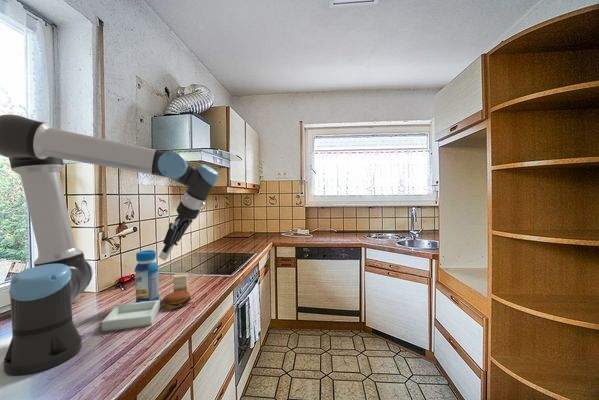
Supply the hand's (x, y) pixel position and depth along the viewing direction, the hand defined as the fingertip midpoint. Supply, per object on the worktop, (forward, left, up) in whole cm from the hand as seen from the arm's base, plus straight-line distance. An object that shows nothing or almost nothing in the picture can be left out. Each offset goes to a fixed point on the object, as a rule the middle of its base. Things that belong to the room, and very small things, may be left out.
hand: (162, 258), depth 104 cm
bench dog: (+10, -5, -18) cm, 21 cm away
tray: (-8, +8, -18) cm, 22 cm away
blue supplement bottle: (+7, +7, -19) cm, 21 cm away
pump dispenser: (+16, +38, -19) cm, 45 cm away
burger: (+1, -4, -19) cm, 19 cm away
